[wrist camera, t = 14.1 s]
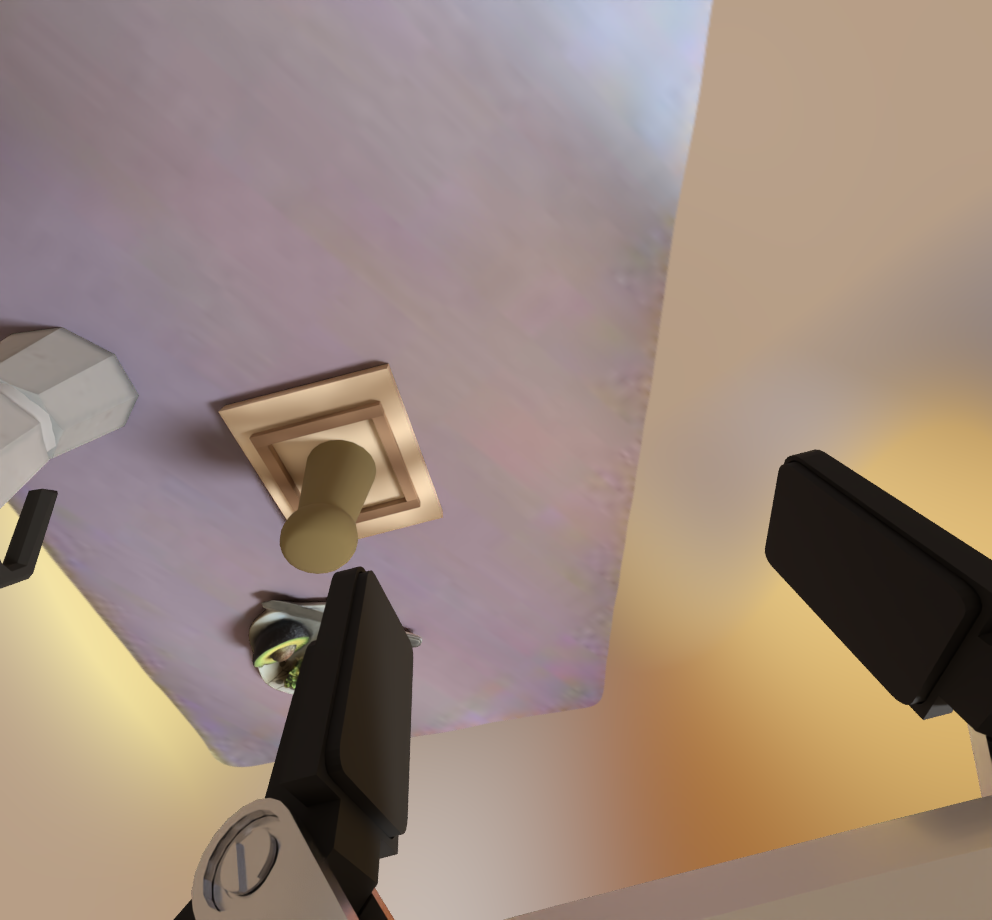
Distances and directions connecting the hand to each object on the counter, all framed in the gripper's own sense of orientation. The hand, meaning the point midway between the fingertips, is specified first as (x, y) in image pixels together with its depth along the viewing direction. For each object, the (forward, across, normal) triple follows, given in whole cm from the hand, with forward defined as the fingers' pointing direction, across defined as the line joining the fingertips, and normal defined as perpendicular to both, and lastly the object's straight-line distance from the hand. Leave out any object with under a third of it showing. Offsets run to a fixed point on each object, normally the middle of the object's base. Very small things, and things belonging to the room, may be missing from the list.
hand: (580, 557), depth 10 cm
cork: (+27, +15, +11) cm, 33 cm away
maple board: (+28, +15, +11) cm, 34 cm away
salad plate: (+29, +27, +34) cm, 52 cm away
